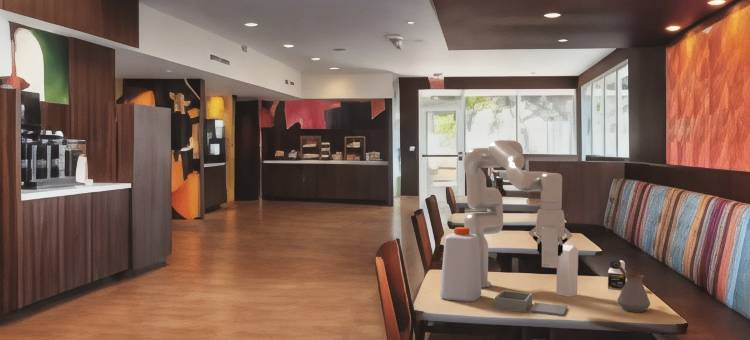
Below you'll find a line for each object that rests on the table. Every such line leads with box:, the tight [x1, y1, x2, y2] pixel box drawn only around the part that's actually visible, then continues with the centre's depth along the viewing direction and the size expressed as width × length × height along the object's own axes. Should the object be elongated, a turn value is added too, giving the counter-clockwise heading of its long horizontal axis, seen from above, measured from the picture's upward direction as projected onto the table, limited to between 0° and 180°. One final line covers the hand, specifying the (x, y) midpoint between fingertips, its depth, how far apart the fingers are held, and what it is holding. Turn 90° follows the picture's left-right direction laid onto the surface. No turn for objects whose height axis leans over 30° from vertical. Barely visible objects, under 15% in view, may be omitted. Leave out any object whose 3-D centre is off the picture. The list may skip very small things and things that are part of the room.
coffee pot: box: [614, 262, 651, 313], centre depth 237 cm, size 21×12×15 cm, turn 3°
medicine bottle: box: [607, 259, 627, 291], centre depth 267 cm, size 7×7×12 cm
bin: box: [494, 289, 533, 313], centre depth 235 cm, size 12×13×4 cm
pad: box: [528, 302, 568, 317], centre depth 229 cm, size 12×12×1 cm
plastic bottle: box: [439, 226, 482, 303], centre depth 247 cm, size 15×15×28 cm
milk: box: [555, 240, 579, 298], centre depth 253 cm, size 6×6×22 cm
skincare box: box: [541, 227, 559, 269], centre depth 228 cm, size 8×6×15 cm
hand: (549, 254), depth 228 cm, fingers closed on skincare box, 6 cm apart
